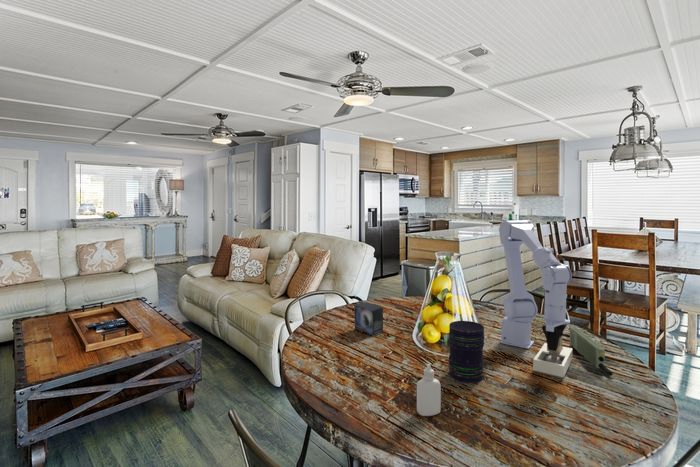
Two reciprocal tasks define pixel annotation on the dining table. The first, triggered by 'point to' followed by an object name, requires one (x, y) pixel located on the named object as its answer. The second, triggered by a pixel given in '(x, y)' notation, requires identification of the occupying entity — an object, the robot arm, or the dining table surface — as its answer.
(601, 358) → the handheld radio
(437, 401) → the eye dropper bottle
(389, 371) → the dining table surface
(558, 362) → the keyhole peg
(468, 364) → the storage jar
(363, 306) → the small box
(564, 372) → the white hollow rectangular frame
